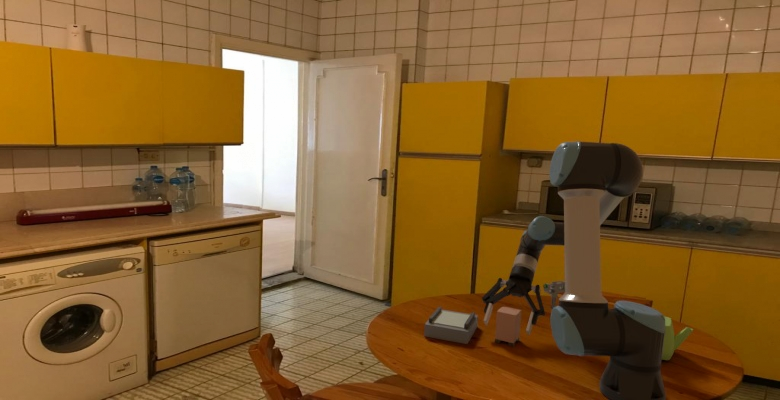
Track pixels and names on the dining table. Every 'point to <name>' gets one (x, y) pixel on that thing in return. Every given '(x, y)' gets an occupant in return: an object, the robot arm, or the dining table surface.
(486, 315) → the robot arm
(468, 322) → the step
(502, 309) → the block
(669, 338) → the teapot
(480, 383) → the dining table surface
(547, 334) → the dining table surface
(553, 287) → the mechanical component
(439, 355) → the dining table surface
